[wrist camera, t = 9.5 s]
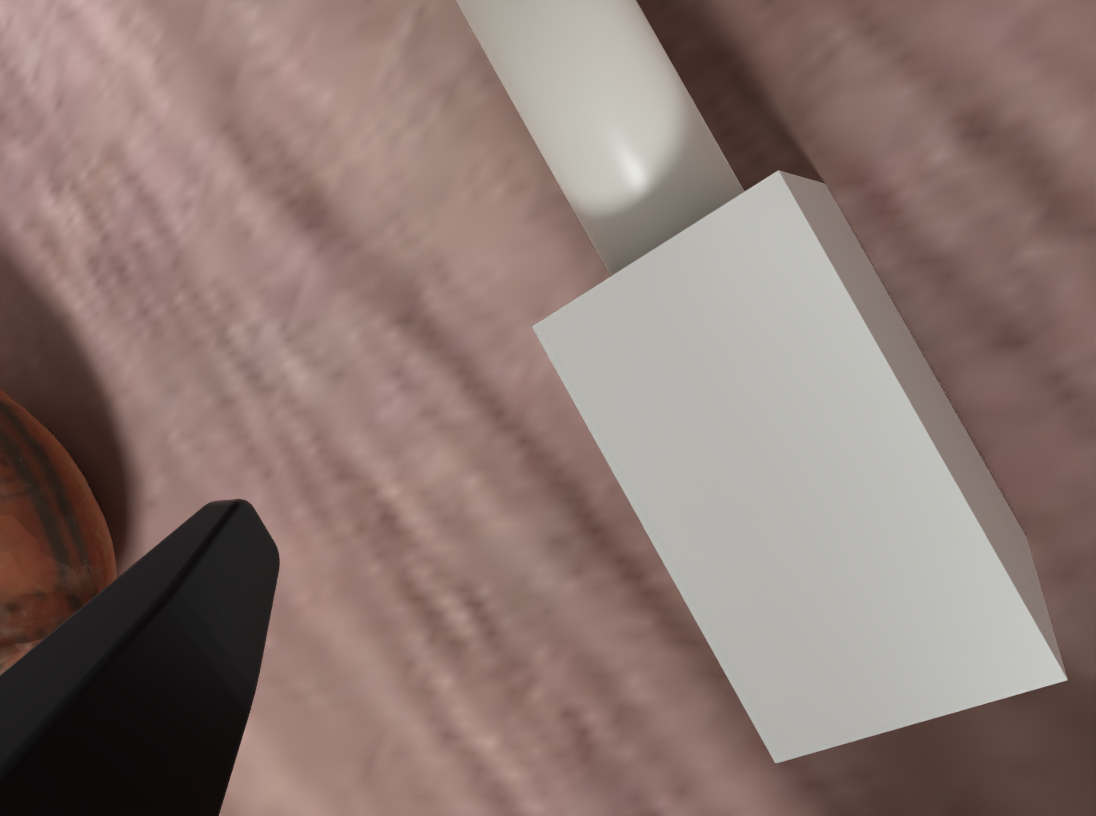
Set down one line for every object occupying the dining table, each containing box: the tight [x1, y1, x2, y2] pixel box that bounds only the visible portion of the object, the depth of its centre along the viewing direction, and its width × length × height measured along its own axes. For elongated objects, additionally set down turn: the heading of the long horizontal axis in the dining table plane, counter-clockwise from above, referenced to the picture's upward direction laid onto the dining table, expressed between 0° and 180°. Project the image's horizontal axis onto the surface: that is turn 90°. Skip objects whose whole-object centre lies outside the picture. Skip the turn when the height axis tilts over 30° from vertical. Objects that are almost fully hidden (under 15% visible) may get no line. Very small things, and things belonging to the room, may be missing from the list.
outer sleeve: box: [532, 170, 1068, 764], centre depth 17 cm, size 9×5×6 cm, turn 33°
